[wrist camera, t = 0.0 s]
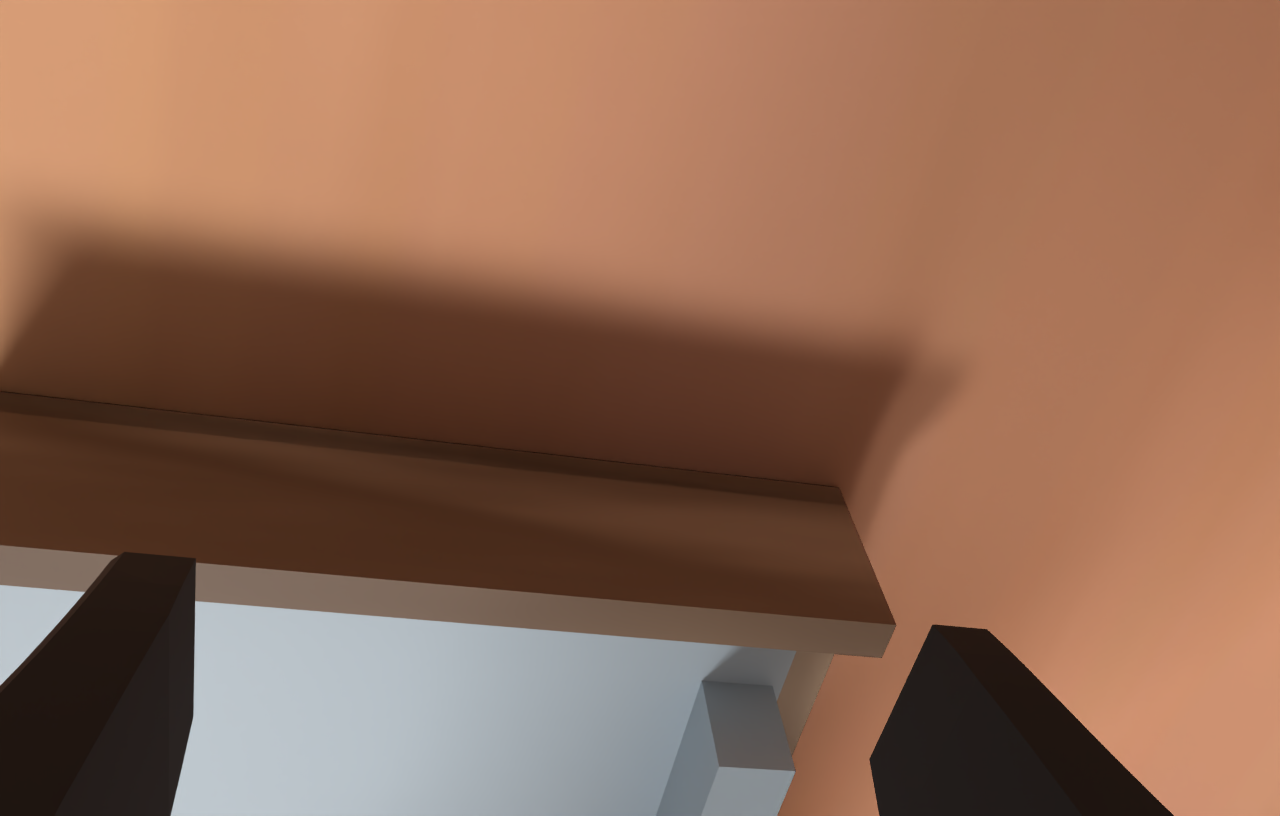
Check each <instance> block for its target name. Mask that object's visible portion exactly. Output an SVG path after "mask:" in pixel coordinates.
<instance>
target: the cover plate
mask: <svg viewBox="0 0 1280 816" xmlns="http://www.w3.org/2000/svg"><path fill="white" fill-rule="evenodd" d="M84 593H85V592H78V591H66V590H54V589H42V588H30V587H18V586H6V585H0V685H1V684H2V683H3V682H4V681H5V680H6V679H7V678H8V677H9V676H10V675H11V674H12V673H13V672H14V671H15V670H16V669H17V668H18V667H19V666H20V665H21V664H22V663H23V661H24V660H25V659H26V658H27V657H28V656H29V655H30V654H31V653H32V652H33V651H34V649H35V648H36V647H37V646H38V645H39V644H40V643H41V642H42V641H43V640H44V638H45V637H46V636H47V635H48V634H49V633H50V632H51V631H52V630H53V629H54V627H55V626H56V625H57V624H58V623H59V622H60V621H61V620H62V618H63V617H64V616H65V615H66V614H67V613H68V612H69V610H70V609H71V608H72V607H73V606H74V605H75V603H76V602H77V601H78V600H79V599H80V598H81V596H82V595H83V594H84ZM795 654H796V651H791V650H779V649H767V648H755V647H743V646H731V645H719V644H707V643H695V642H683V641H671V640H658V639H646V638H634V637H622V636H610V635H598V634H586V633H574V632H562V631H550V630H538V629H526V628H513V627H501V626H489V625H477V624H465V623H453V622H441V621H429V620H417V619H405V618H393V617H380V616H368V615H356V614H344V613H332V612H320V611H308V610H296V609H284V608H272V607H260V606H248V605H235V604H223V603H211V602H199V601H195V651H194V715H193V721H192V725H191V730H190V734H189V739H188V743H187V747H186V752H185V756H184V761H183V765H182V770H181V774H180V778H179V782H178V787H177V791H176V795H175V799H174V803H173V808H172V812H171V816H777V814H778V812H779V810H780V807H781V805H782V802H783V800H784V798H785V795H786V793H787V791H788V788H789V786H790V784H791V781H792V779H793V776H794V774H795V772H796V770H795V767H794V763H793V759H792V756H791V752H790V748H789V745H788V741H787V737H786V734H785V730H784V726H783V723H782V719H781V715H780V712H779V708H778V704H777V700H778V697H779V694H780V692H781V689H782V687H783V684H784V682H785V679H786V677H787V674H788V671H789V669H790V666H791V664H792V661H793V659H794V656H795Z"/></svg>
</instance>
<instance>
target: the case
mask: <svg viewBox="0 0 1280 816" xmlns="http://www.w3.org/2000/svg"><path fill="white" fill-rule="evenodd" d="M123 552H133V553H144V554H155V555H166V556H177V557H188V558H196V588H195V601H199V602H211V603H223V604H235V605H248V606H260V607H272V608H284V609H296V610H308V611H320V612H332V613H344V614H356V615H368V616H380V617H393V618H405V619H417V620H429V621H441V622H453V623H465V624H477V625H489V626H501V627H513V628H526V629H538V630H550V631H562V632H574V633H586V634H598V635H610V636H622V637H634V638H646V639H658V640H671V641H683V642H695V643H707V644H719V645H731V646H743V647H755V648H767V649H779V650H791V651H796V654H795V656H794V659H793V661H792V664H791V666H790V669H789V671H788V674H787V677H786V679H785V682H784V684H783V687H782V689H781V692H780V694H779V697H778V700H777V704H778V708H779V712H780V715H781V719H782V723H783V726H784V730H785V734H786V737H787V741H788V745H789V748H790V752H791V756H792V754H793V752H794V750H795V747H796V745H797V742H798V740H799V738H800V735H801V733H802V730H803V728H804V726H805V723H806V721H807V718H808V716H809V714H810V711H811V709H812V706H813V704H814V702H815V699H816V697H817V694H818V692H819V689H820V687H821V685H822V682H823V680H824V677H825V675H826V673H827V670H828V668H829V665H830V663H831V661H832V658H833V656H834V654H840V655H852V656H864V657H876V658H882V656H883V654H884V652H885V649H886V647H887V645H888V643H889V640H890V638H891V636H892V634H893V632H894V629H895V627H896V623H895V621H894V618H893V616H892V614H891V611H890V609H889V606H888V604H887V602H886V599H885V597H884V594H883V592H882V590H881V587H880V585H879V582H878V580H877V578H876V575H875V573H874V570H873V568H872V566H871V563H870V561H869V558H868V556H867V554H866V551H865V549H864V546H863V544H862V542H861V539H860V537H859V535H858V532H857V530H856V527H855V525H854V523H853V520H852V518H851V515H850V513H849V511H848V508H847V506H846V503H845V501H844V499H843V496H842V494H841V491H840V489H839V488H837V487H829V486H820V485H811V484H802V483H794V482H785V481H776V480H767V479H759V478H750V477H741V476H732V475H724V474H715V473H706V472H697V471H689V470H680V469H671V468H663V467H654V466H645V465H636V464H628V463H619V462H610V461H601V460H593V459H584V458H575V457H566V456H558V455H549V454H540V453H531V452H523V451H514V450H505V449H496V448H488V447H479V446H470V445H462V444H453V443H444V442H435V441H427V440H418V439H409V438H400V437H392V436H383V435H374V434H365V433H357V432H348V431H339V430H330V429H322V428H313V427H304V426H295V425H287V424H278V423H269V422H260V421H252V420H243V419H234V418H226V417H217V416H208V415H199V414H191V413H182V412H173V411H164V410H156V409H147V408H138V407H129V406H121V405H112V404H103V403H94V402H86V401H77V400H68V399H59V398H51V397H42V396H33V395H25V394H16V393H7V392H0V585H6V586H18V587H30V588H42V589H54V590H66V591H78V592H86V590H87V589H88V588H89V587H90V586H91V584H92V583H93V582H94V581H95V580H96V578H97V577H98V576H99V575H100V573H101V572H102V571H103V570H104V568H105V567H106V566H107V565H108V563H109V562H110V561H111V560H112V559H114V558H115V557H117V556H119V555H120V554H122V553H123Z"/></svg>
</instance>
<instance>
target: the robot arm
mask: <svg viewBox="0 0 1280 816" xmlns="http://www.w3.org/2000/svg"><path fill="white" fill-rule="evenodd" d="M195 588H196V558H188V557H177V556H166V555H155V554H144V553H133V552H123V553H122V554H120V555H119V556H117V557H115V558H114V559H112V560H111V561H110V562H109V563H108V565H107V566H106V567H105V568H104V570H103V571H102V572H101V573H100V575H99V576H98V577H97V578H96V580H95V581H94V582H93V583H92V584H91V586H90V587H89V588H88V589H87V590H86V592H85V593H84V594H83V595H82V596H81V598H80V599H79V600H78V601H77V602H76V603H75V605H74V606H73V607H72V608H71V609H70V610H69V612H68V613H67V614H66V615H65V616H64V617H63V618H62V620H61V621H60V622H59V623H58V624H57V625H56V626H55V627H54V629H53V630H52V631H51V632H50V633H49V634H48V635H47V636H46V637H45V638H44V640H43V641H42V642H41V643H40V644H39V645H38V646H37V647H36V648H35V649H34V651H33V652H32V653H31V654H30V655H29V656H28V657H27V658H26V659H25V660H24V661H23V663H22V664H21V665H20V666H19V667H18V668H17V669H16V670H15V671H14V672H13V673H12V674H11V675H10V676H9V677H8V678H7V679H6V680H5V681H4V682H3V683H2V684H1V685H0V816H171V812H172V808H173V803H174V799H175V795H176V791H177V787H178V782H179V778H180V774H181V770H182V765H183V761H184V756H185V752H186V747H187V743H188V739H189V734H190V730H191V725H192V721H193V715H194V651H195ZM870 765H871V770H872V776H873V782H874V787H875V793H876V799H877V804H878V810H879V815H880V816H1174V815H1173V814H1172V813H1171V812H1170V811H1169V810H1167V809H1166V808H1165V807H1164V806H1163V805H1162V804H1161V803H1160V802H1159V801H1158V800H1157V799H1156V798H1155V797H1154V796H1153V795H1152V794H1151V793H1150V792H1149V791H1148V790H1147V789H1146V788H1145V787H1144V786H1143V785H1142V784H1141V783H1140V782H1139V781H1138V780H1137V779H1136V778H1135V777H1134V776H1133V775H1132V774H1131V773H1130V772H1129V771H1128V770H1127V769H1126V768H1125V767H1124V766H1123V765H1122V764H1121V763H1120V762H1119V761H1118V760H1117V759H1116V758H1115V757H1114V756H1113V755H1112V754H1111V753H1110V752H1109V751H1108V750H1107V749H1106V748H1105V747H1104V746H1103V745H1102V744H1101V743H1100V742H1099V741H1098V740H1097V739H1096V738H1095V737H1094V736H1093V735H1092V734H1091V733H1090V732H1089V731H1088V730H1087V729H1086V728H1085V727H1084V726H1083V724H1082V723H1081V722H1080V721H1079V720H1078V719H1077V718H1076V717H1075V716H1074V715H1073V714H1072V713H1071V712H1070V711H1069V710H1068V709H1067V708H1066V707H1065V706H1064V705H1063V704H1062V703H1061V702H1060V701H1059V700H1058V699H1057V698H1056V697H1055V696H1054V695H1053V694H1052V693H1051V692H1050V691H1049V690H1048V689H1047V688H1046V687H1045V686H1044V685H1043V684H1042V683H1041V682H1040V681H1039V679H1038V678H1037V677H1036V676H1035V675H1034V674H1033V673H1032V672H1031V671H1030V670H1029V669H1028V668H1027V667H1026V666H1025V665H1024V664H1023V663H1022V662H1021V661H1020V660H1019V659H1018V658H1017V657H1016V656H1015V655H1014V654H1013V653H1011V652H1010V651H1009V650H1008V649H1007V648H1006V647H1005V646H1004V645H1003V644H1002V643H1001V642H1000V641H999V640H998V639H997V638H996V637H995V636H994V635H992V634H991V633H990V632H989V631H988V630H987V629H977V628H966V627H955V626H944V625H932V627H931V629H930V631H929V633H928V636H927V638H926V640H925V642H924V644H923V646H922V648H921V651H920V653H919V655H918V657H917V659H916V661H915V663H914V665H913V668H912V670H911V672H910V674H909V676H908V678H907V680H906V683H905V685H904V687H903V689H902V691H901V693H900V695H899V697H898V700H897V702H896V704H895V706H894V708H893V710H892V712H891V715H890V717H889V719H888V721H887V723H886V725H885V727H884V729H883V732H882V734H881V736H880V738H879V740H878V742H877V744H876V747H875V749H874V751H873V753H872V755H871V757H870Z"/></svg>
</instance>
